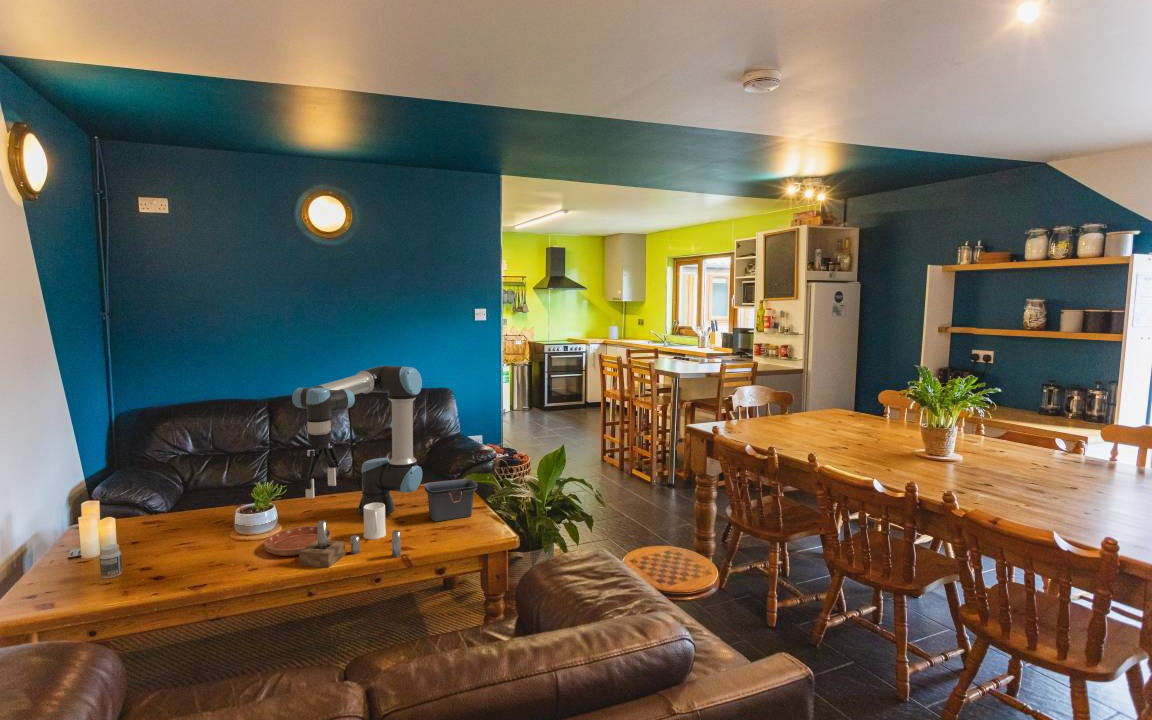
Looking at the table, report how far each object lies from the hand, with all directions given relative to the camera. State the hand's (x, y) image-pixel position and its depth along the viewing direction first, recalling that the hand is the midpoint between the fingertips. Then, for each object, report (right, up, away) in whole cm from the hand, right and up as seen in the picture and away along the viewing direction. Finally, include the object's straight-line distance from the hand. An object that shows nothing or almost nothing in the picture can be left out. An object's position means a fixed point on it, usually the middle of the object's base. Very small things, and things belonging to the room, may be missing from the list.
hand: (321, 491), depth 210 cm
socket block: (0, -25, +2) cm, 25 cm away
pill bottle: (-65, -26, -12) cm, 71 cm away
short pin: (+9, -24, +9) cm, 27 cm away
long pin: (0, -25, +2) cm, 25 cm away
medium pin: (+25, -25, +7) cm, 36 cm away
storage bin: (+36, -22, +46) cm, 63 cm away
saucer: (-15, -24, +14) cm, 32 cm away
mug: (+11, -23, +24) cm, 35 cm away
